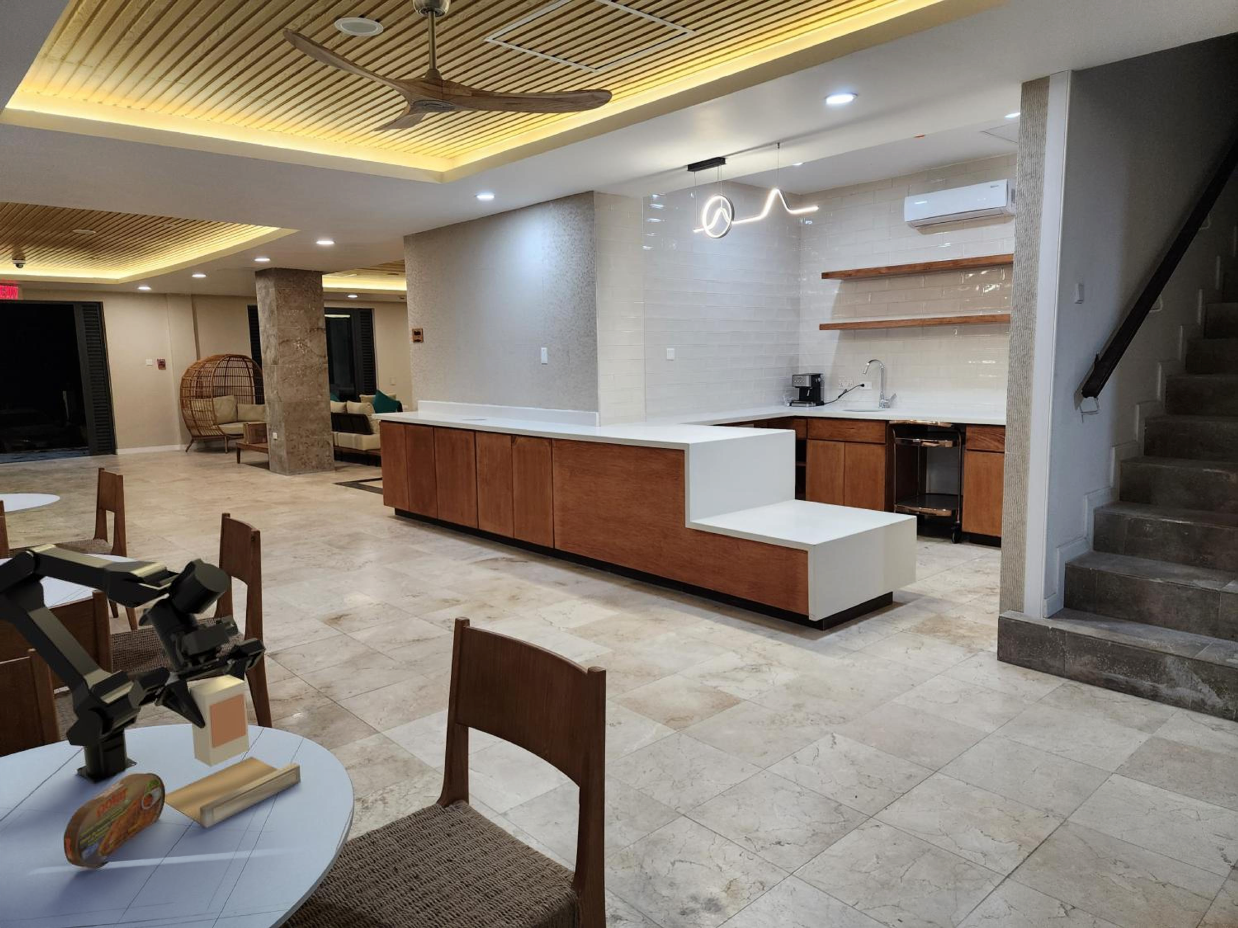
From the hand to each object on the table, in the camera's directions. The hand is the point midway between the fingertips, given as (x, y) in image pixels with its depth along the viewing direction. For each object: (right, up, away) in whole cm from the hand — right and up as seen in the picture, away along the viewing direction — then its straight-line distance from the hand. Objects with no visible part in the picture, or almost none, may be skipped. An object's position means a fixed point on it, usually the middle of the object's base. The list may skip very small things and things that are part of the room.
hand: (224, 718), depth 119 cm
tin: (-10, -15, -8) cm, 20 cm away
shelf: (-2, -13, +5) cm, 14 cm away
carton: (-1, -6, +2) cm, 6 cm away
